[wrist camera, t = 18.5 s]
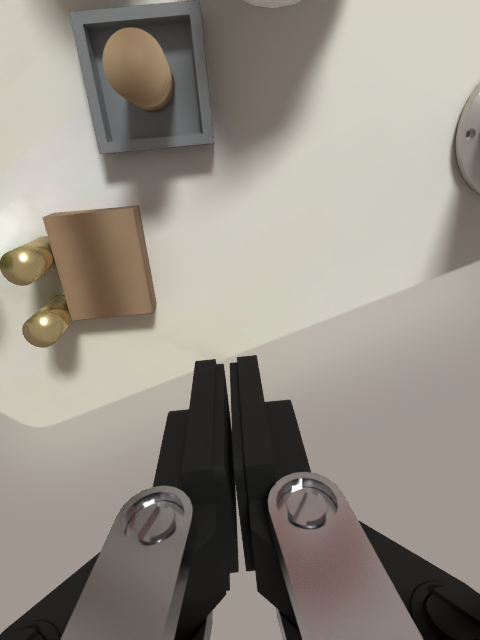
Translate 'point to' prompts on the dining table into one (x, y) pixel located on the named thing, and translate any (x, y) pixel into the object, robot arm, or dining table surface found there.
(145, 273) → the brown wooden brick
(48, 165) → the dining table surface
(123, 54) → the dowel
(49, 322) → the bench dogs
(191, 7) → the tray
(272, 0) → the honey pot
